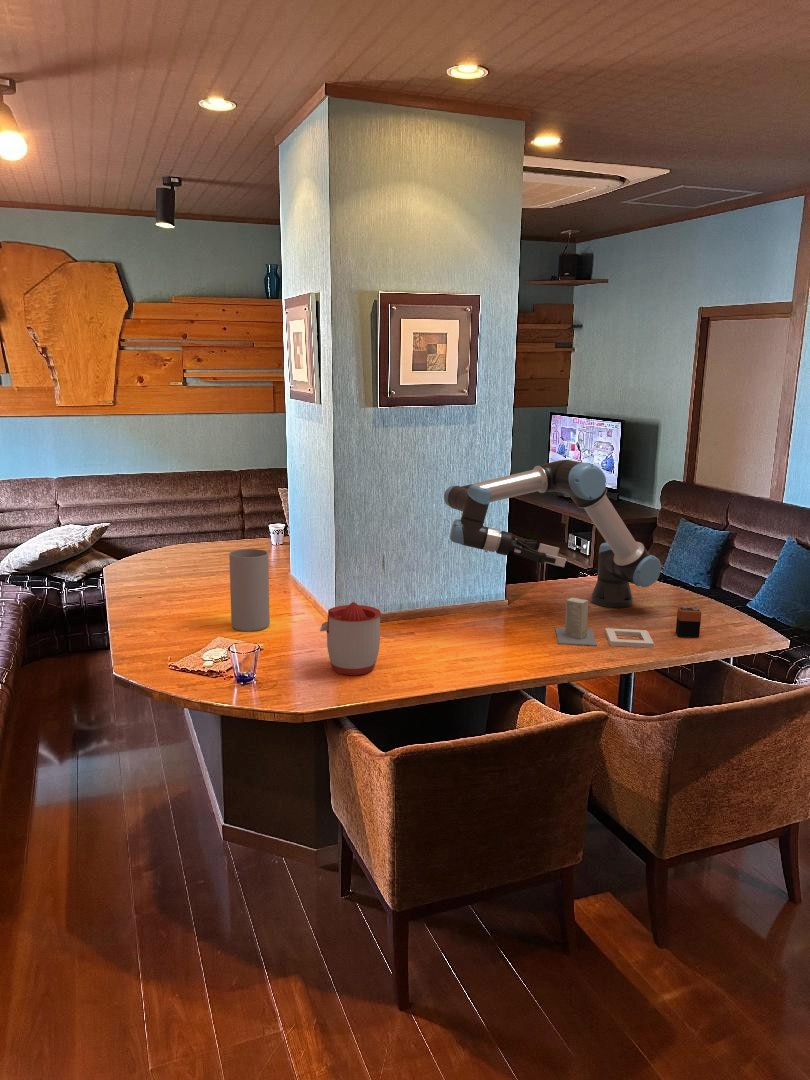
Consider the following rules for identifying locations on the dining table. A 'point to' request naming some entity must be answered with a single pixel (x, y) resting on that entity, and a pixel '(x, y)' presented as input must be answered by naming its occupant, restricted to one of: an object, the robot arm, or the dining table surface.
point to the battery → (688, 622)
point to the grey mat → (575, 641)
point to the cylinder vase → (249, 589)
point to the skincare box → (576, 618)
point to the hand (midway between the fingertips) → (561, 557)
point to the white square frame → (644, 641)
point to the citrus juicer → (353, 638)
